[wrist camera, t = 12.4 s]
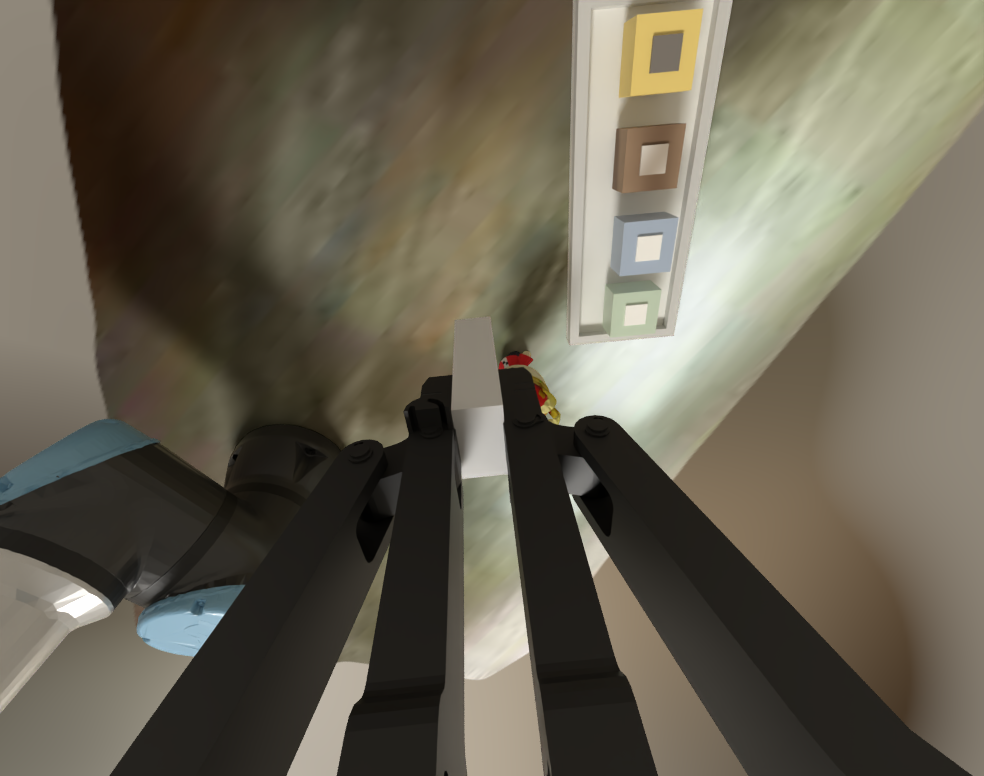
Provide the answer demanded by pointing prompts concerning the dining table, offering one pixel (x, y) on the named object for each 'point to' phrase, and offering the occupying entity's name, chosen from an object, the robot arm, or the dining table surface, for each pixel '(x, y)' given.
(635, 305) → the key
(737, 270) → the dining table surface
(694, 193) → the base
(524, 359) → the toy
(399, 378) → the dining table surface
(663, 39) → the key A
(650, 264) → the blue square block
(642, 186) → the key
